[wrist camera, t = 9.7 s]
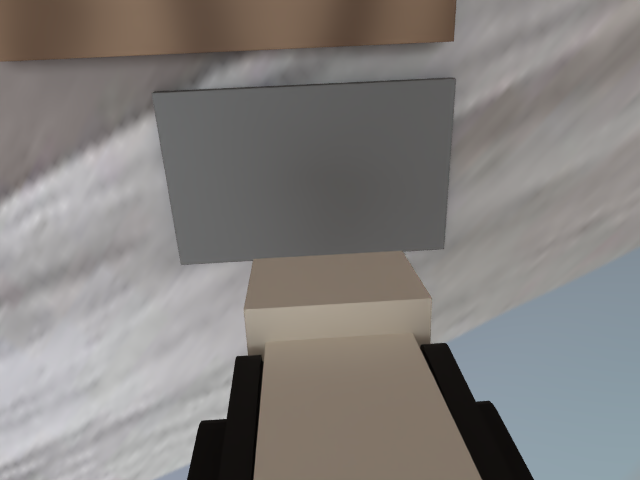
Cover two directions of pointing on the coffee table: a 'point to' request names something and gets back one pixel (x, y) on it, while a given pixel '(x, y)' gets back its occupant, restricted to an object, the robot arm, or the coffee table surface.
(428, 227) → the mat
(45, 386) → the coffee table surface
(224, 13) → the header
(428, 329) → the ivory plug
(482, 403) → the robot arm
